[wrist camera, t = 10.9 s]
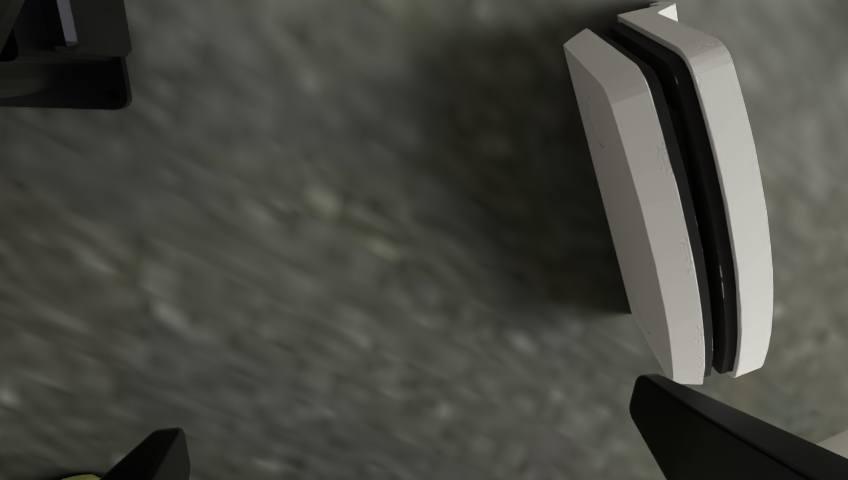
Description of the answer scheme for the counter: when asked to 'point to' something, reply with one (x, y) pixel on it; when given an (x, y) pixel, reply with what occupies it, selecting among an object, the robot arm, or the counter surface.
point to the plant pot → (83, 477)
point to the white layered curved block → (679, 189)
